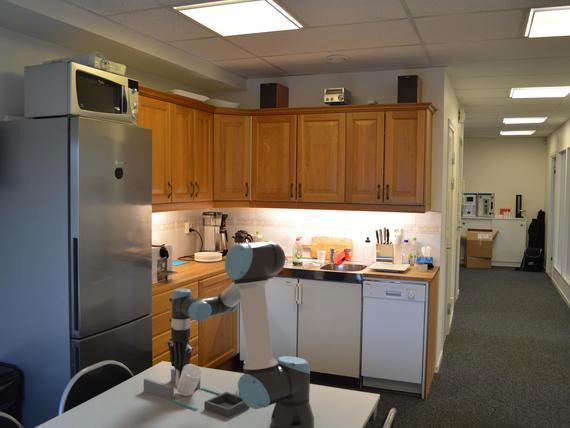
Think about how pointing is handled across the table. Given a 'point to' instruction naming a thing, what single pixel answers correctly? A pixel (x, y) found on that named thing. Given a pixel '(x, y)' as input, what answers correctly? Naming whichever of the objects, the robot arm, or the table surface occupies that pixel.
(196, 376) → the white cup
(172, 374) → the walled channel
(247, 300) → the robot arm
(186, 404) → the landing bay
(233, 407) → the tray
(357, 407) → the table surface
